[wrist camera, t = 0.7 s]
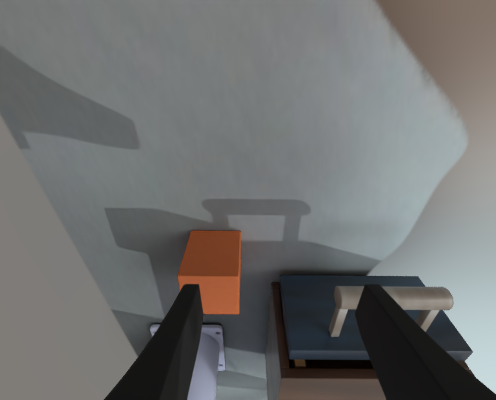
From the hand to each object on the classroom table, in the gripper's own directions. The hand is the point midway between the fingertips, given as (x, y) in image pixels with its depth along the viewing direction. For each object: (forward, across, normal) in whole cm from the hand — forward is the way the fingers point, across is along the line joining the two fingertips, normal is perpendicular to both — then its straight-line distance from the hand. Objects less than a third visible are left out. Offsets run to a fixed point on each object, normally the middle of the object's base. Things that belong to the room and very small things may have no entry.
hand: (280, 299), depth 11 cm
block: (+10, +4, +6) cm, 12 cm away
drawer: (+9, -8, +12) cm, 17 cm away
